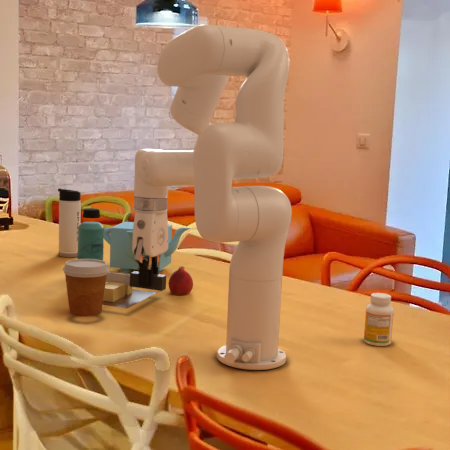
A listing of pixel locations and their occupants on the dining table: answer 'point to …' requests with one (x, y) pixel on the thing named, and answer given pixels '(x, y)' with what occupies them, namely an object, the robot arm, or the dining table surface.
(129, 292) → the butter slice
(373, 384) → the dining table surface
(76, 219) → the travel mug
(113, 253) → the teakettle
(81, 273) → the disposable coffee cup
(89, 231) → the beverage bottle
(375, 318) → the supplement bottle
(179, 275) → the onion
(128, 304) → the board
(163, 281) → the knife
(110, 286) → the butter
